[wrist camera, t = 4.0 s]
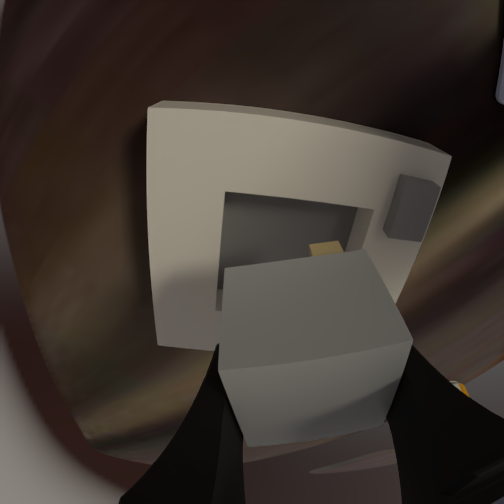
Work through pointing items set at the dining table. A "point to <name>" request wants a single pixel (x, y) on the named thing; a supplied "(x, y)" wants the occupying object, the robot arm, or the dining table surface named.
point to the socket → (273, 201)
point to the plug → (310, 346)
